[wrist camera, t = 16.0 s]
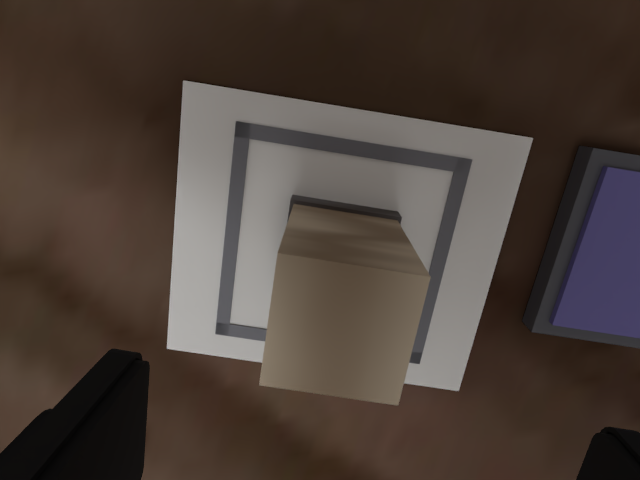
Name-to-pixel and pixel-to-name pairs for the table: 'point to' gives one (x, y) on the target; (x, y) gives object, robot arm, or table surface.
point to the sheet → (341, 186)
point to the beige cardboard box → (343, 302)
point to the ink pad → (593, 255)
